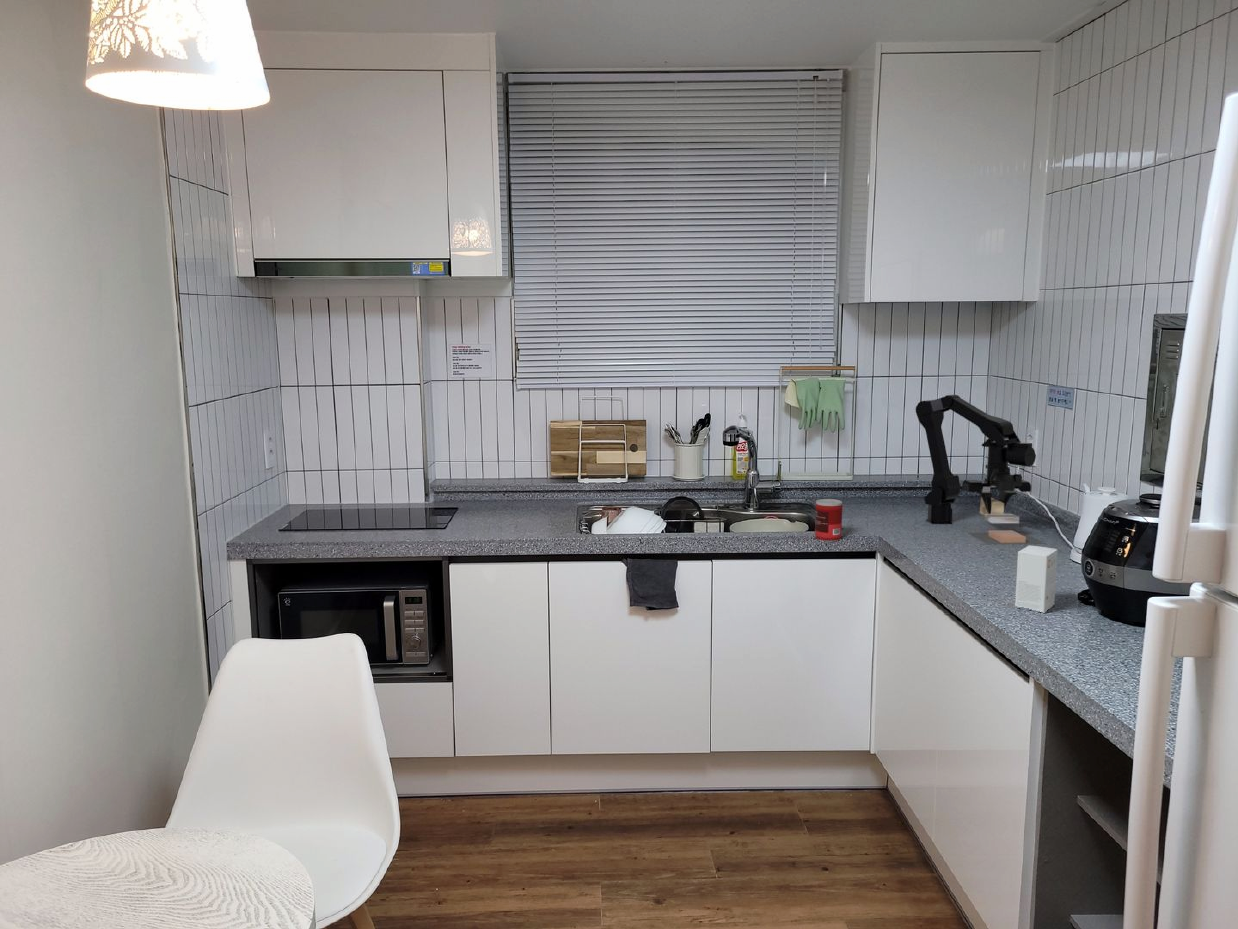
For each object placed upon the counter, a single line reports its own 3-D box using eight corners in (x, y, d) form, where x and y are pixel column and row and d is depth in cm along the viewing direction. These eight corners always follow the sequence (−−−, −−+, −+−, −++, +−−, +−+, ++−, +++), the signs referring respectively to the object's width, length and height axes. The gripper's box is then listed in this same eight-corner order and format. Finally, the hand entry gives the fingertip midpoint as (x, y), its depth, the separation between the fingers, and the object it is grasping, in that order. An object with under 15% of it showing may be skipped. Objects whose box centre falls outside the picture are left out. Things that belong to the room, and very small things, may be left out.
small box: (1025, 600, 208) (1028, 544, 206) (1054, 605, 204) (1058, 548, 202) (1013, 608, 202) (1017, 551, 200) (1044, 614, 198) (1048, 555, 196)
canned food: (842, 535, 274) (843, 499, 272) (839, 541, 266) (841, 504, 265) (816, 534, 276) (817, 498, 275) (813, 539, 269) (814, 503, 267)
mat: (987, 545, 261) (987, 544, 261) (967, 533, 276) (967, 532, 276) (1046, 545, 261) (1047, 544, 261) (1023, 533, 276) (1023, 532, 276)
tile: (988, 536, 271) (1001, 543, 262) (988, 530, 271) (1001, 537, 262) (1011, 535, 271) (1025, 543, 262) (1012, 530, 271) (1025, 537, 262)
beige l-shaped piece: (971, 513, 282) (972, 497, 282) (997, 513, 282) (998, 497, 282) (991, 523, 268) (992, 506, 267) (1018, 523, 268) (1019, 506, 267)
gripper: (977, 467, 265) (974, 519, 267) (1041, 466, 265) (1038, 519, 267) (962, 461, 276) (960, 512, 278) (1024, 461, 276) (1021, 511, 278)
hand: (994, 514), depth 275 cm, fingers closed on beige l-shaped piece, 3 cm apart
